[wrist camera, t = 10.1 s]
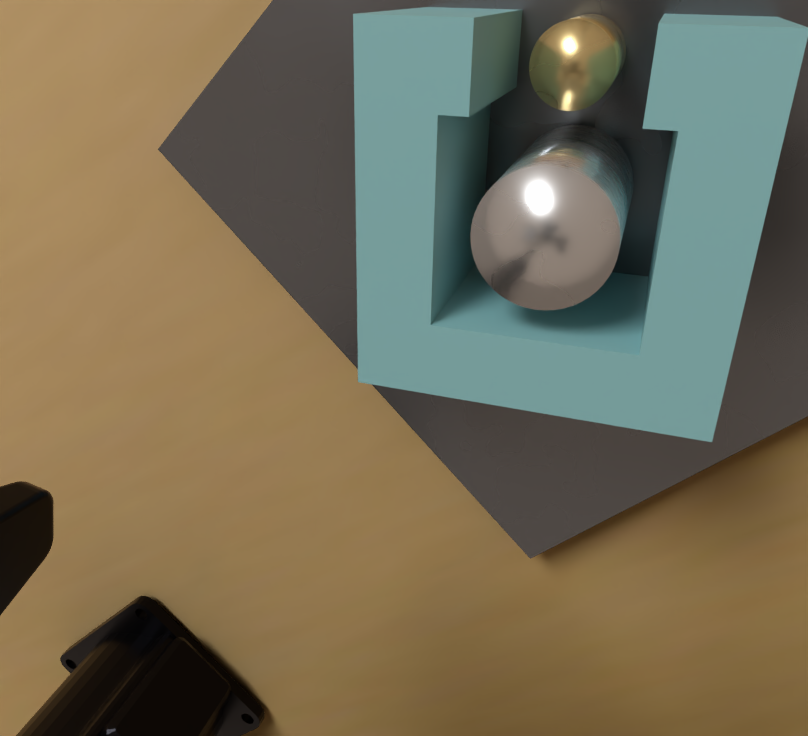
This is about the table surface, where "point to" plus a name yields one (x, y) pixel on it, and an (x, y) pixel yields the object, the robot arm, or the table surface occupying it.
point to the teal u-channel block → (621, 293)
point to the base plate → (313, 249)
